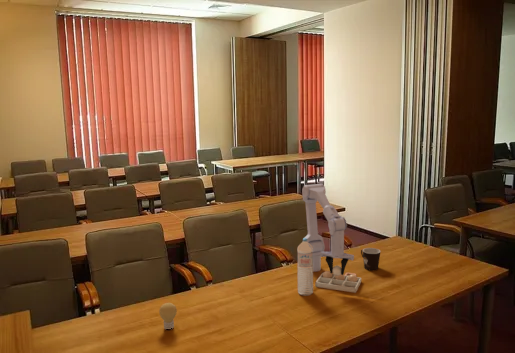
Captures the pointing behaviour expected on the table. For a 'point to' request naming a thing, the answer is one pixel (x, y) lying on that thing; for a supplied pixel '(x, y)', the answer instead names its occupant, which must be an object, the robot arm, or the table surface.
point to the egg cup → (349, 274)
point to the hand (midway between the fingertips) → (337, 273)
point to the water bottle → (305, 268)
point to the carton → (338, 282)
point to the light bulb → (168, 314)
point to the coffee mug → (371, 258)
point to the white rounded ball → (336, 270)
